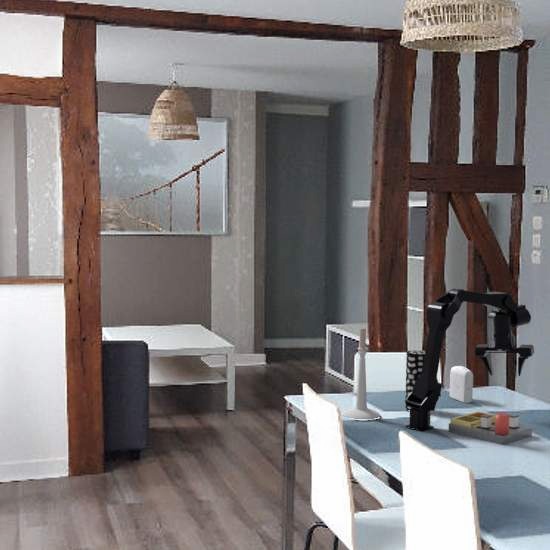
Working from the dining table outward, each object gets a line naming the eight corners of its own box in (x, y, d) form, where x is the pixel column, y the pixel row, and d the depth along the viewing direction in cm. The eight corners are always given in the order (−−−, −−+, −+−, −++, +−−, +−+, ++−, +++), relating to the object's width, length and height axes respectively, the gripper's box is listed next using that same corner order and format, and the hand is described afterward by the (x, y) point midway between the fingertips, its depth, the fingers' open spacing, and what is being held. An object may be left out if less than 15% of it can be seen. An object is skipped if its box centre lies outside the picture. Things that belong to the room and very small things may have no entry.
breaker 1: (486, 427, 253) (486, 416, 252) (480, 426, 254) (481, 415, 254) (491, 426, 254) (491, 415, 254) (485, 425, 256) (485, 414, 256)
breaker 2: (514, 427, 254) (514, 416, 253) (508, 426, 255) (508, 415, 255) (518, 426, 255) (518, 415, 255) (512, 424, 257) (512, 413, 257)
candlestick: (335, 413, 281) (337, 325, 279) (369, 410, 286) (371, 323, 284) (352, 422, 269) (353, 330, 267) (387, 419, 274) (389, 328, 272)
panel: (503, 444, 245) (503, 431, 244) (448, 431, 259) (448, 418, 259) (531, 435, 255) (532, 422, 255) (477, 423, 270) (478, 411, 269)
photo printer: (474, 402, 300) (475, 368, 300) (464, 403, 299) (465, 369, 298) (457, 396, 310) (458, 363, 309) (447, 397, 308) (448, 364, 308)
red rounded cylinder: (503, 436, 245) (504, 417, 244) (492, 432, 248) (492, 414, 247) (511, 433, 248) (512, 415, 247) (499, 429, 251) (500, 412, 250)
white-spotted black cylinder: (431, 413, 284) (432, 354, 282) (406, 412, 284) (408, 354, 282) (427, 407, 292) (428, 350, 290) (403, 407, 292) (404, 350, 291)
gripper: (535, 324, 280) (538, 369, 282) (480, 324, 288) (483, 368, 290) (529, 331, 270) (532, 378, 272) (472, 331, 279) (475, 377, 281)
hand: (505, 375), depth 279 cm, fingers open, 9 cm apart
